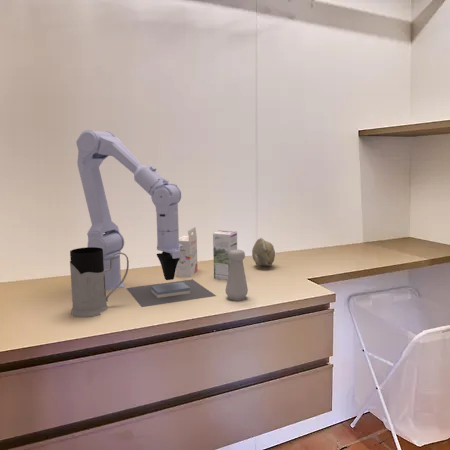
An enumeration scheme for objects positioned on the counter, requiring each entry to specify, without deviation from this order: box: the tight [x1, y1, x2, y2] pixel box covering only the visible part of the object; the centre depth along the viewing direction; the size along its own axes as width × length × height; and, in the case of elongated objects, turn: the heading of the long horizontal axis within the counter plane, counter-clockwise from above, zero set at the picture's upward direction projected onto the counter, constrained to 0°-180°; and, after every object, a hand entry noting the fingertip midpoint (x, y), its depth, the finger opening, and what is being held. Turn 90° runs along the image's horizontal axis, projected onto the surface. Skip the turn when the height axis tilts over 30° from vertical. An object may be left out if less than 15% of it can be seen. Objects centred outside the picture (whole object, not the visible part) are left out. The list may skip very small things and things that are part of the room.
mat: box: [125, 278, 217, 308], centre depth 122 cm, size 20×18×1 cm
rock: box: [251, 237, 276, 268], centre depth 149 cm, size 9×8×10 cm
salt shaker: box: [224, 249, 249, 302], centre depth 115 cm, size 6×6×13 cm
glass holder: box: [69, 246, 130, 318], centre depth 109 cm, size 9×14×15 cm, turn 114°
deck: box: [151, 282, 190, 298], centre depth 121 cm, size 9×2×6 cm
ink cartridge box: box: [175, 226, 198, 278], centre depth 141 cm, size 9×5×15 cm, turn 168°
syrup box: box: [212, 229, 238, 281], centre depth 135 cm, size 6×6×14 cm
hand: (169, 279), depth 121 cm, fingers closed
